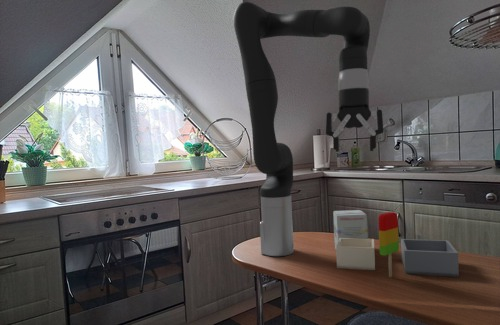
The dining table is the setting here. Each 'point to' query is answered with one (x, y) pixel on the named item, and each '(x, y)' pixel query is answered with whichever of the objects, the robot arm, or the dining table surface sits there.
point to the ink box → (350, 225)
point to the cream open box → (355, 253)
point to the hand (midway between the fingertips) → (354, 151)
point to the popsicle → (388, 236)
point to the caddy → (429, 257)
